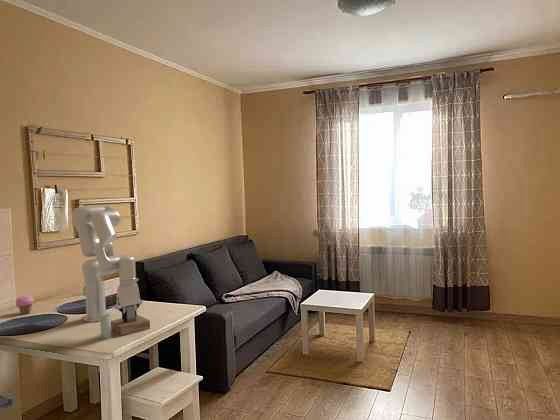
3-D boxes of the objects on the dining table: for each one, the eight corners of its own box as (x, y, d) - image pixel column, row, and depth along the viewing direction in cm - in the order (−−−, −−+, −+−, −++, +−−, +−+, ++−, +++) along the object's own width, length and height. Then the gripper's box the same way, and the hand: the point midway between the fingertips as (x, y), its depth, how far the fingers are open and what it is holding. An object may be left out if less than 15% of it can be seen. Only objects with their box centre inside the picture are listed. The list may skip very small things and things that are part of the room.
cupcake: (33, 314, 234) (32, 296, 234) (15, 316, 231) (14, 298, 230) (35, 310, 242) (34, 292, 242) (17, 312, 239) (16, 294, 238)
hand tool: (119, 300, 259) (119, 292, 259) (125, 301, 257) (125, 292, 257) (89, 311, 239) (88, 301, 238) (95, 312, 237) (94, 302, 236)
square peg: (127, 327, 202) (126, 307, 202) (124, 325, 205) (123, 305, 205) (135, 325, 205) (134, 305, 205) (132, 323, 208) (131, 304, 207)
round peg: (99, 337, 193) (98, 316, 193) (109, 335, 196) (108, 314, 196) (103, 340, 190) (102, 318, 190) (113, 337, 193) (112, 316, 193)
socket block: (109, 329, 205) (109, 321, 205) (137, 322, 215) (136, 314, 215) (121, 335, 195) (121, 327, 195) (150, 328, 205) (149, 320, 205)
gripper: (140, 278, 213) (142, 314, 213) (107, 284, 201) (109, 321, 202) (147, 280, 207) (149, 317, 208) (113, 286, 196) (115, 325, 197)
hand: (129, 319), depth 205 cm, fingers closed on square peg, 3 cm apart
